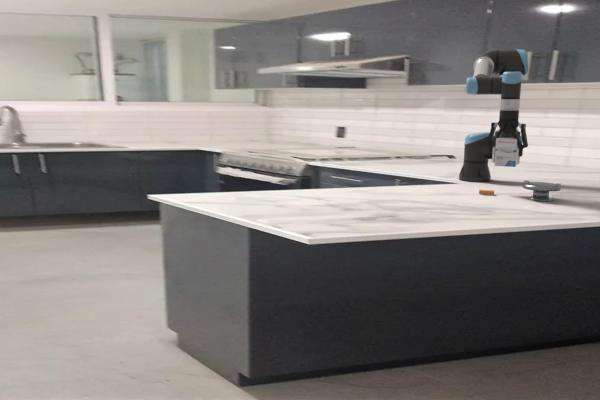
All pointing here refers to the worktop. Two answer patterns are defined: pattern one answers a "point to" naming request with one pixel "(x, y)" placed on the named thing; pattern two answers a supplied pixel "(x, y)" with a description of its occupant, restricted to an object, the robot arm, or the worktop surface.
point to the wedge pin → (486, 192)
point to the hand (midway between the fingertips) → (505, 163)
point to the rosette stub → (541, 190)
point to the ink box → (505, 152)
